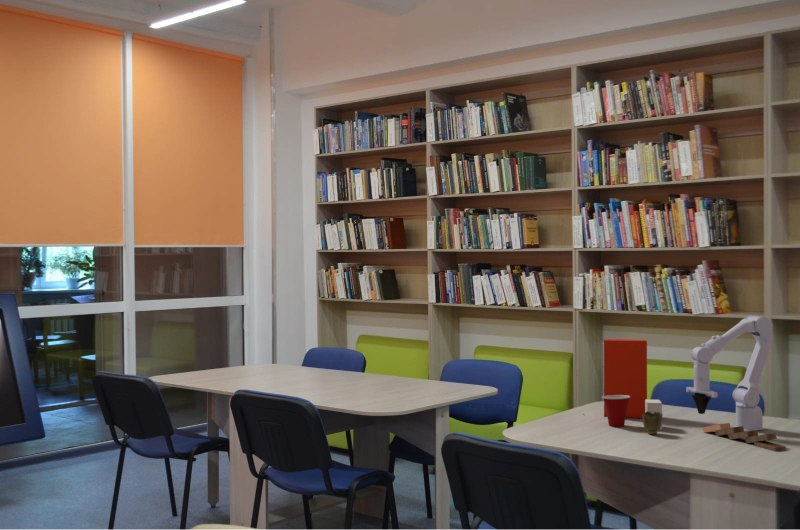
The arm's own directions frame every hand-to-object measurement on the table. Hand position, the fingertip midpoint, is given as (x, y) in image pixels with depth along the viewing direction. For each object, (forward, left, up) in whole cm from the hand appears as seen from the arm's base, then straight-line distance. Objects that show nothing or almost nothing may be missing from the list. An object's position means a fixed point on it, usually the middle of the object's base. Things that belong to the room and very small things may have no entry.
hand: (701, 413), depth 311 cm
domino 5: (-1, +27, -6) cm, 28 cm away
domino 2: (0, +10, -6) cm, 11 cm away
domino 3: (0, +16, -6) cm, 17 cm away
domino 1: (0, +3, -6) cm, 6 cm away
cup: (+22, -2, -7) cm, 23 cm away
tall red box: (+9, -35, -7) cm, 37 cm away
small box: (+14, -11, -7) cm, 19 cm away
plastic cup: (+25, -20, -7) cm, 33 cm away
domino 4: (-1, +23, -5) cm, 24 cm away
